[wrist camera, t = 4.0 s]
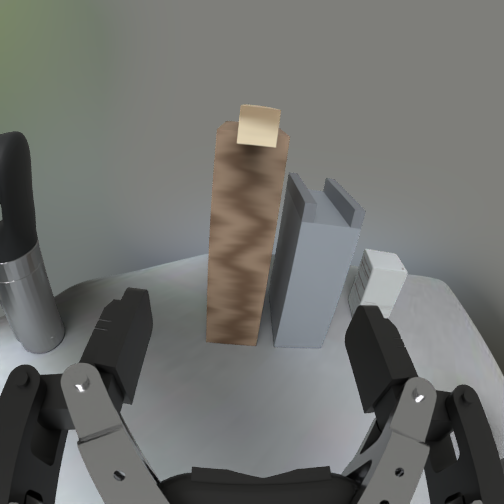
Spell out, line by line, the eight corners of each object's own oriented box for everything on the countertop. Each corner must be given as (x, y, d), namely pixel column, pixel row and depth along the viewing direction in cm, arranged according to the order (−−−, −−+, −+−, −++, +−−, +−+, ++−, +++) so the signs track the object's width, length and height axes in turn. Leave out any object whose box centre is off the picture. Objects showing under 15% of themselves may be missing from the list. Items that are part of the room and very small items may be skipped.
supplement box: (377, 303, 59) (397, 253, 53) (385, 325, 53) (409, 272, 46) (346, 299, 59) (364, 247, 53) (352, 322, 53) (373, 267, 47)
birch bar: (275, 147, 21) (280, 110, 20) (236, 143, 21) (240, 105, 20) (261, 124, 42) (263, 106, 41) (242, 122, 42) (244, 104, 41)
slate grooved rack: (274, 346, 46) (305, 202, 34) (268, 292, 59) (288, 172, 47) (320, 348, 46) (365, 211, 35) (306, 294, 60) (334, 179, 48)
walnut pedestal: (206, 341, 45) (217, 129, 30) (214, 287, 58) (226, 120, 43) (255, 345, 46) (289, 136, 30) (253, 291, 59) (276, 126, 43)
